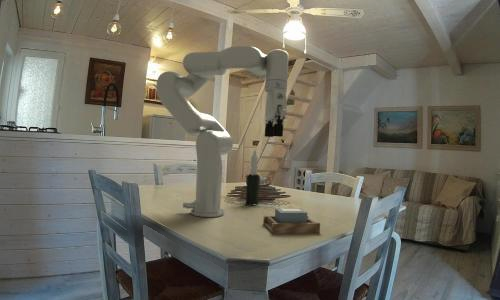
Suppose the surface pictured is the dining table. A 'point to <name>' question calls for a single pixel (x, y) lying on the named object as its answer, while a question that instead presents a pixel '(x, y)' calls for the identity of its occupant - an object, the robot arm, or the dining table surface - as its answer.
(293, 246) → the dining table surface
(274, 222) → the wooden tray
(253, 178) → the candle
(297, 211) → the grey block
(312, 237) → the dining table surface
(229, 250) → the dining table surface
